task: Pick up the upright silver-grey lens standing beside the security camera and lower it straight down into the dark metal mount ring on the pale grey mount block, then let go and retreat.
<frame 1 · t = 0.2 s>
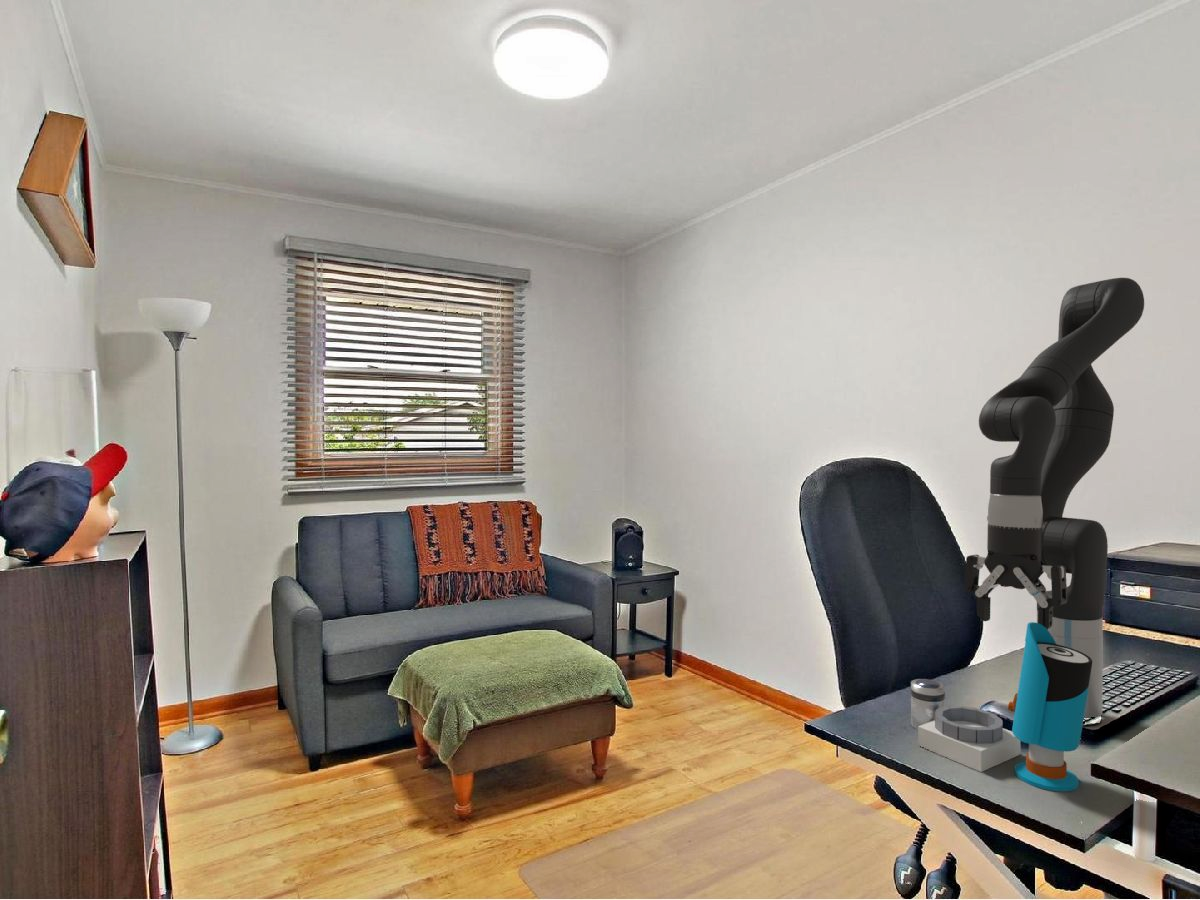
hand: (1012, 625, 113), 17 cm above the table, tool pointing down, fingers open, 8 cm apart
mount: (968, 749, 108), on the table
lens: (927, 726, 117), on the table
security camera: (1048, 779, 99), on the table
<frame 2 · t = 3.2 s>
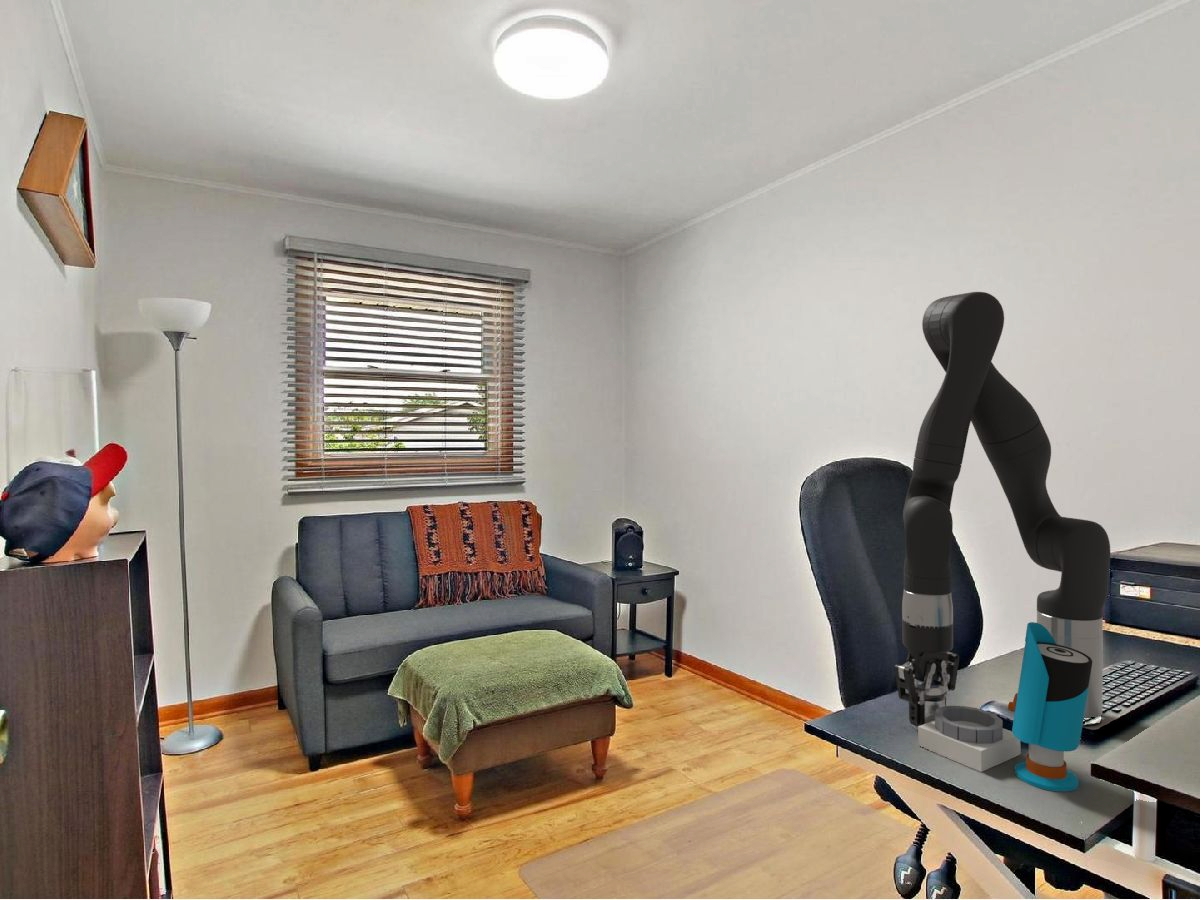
hand: (927, 721, 117), 1 cm above the table, tool pointing down, fingers closed on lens, 5 cm apart
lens: (927, 726, 117), on the table, touching gripper
everything else where it was.
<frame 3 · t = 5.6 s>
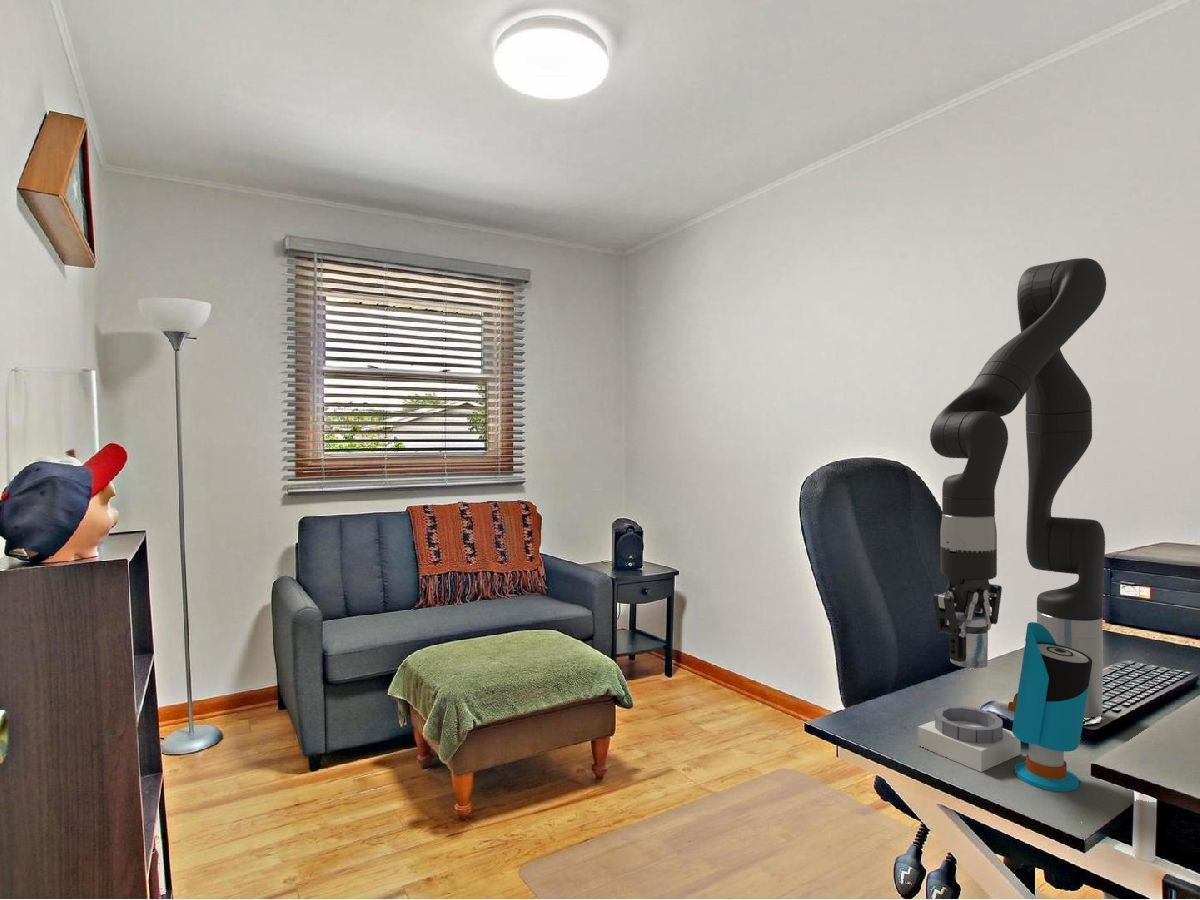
hand: (968, 656, 108), 14 cm above the table, tool pointing down, fingers closed on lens, 5 cm apart
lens: (968, 662, 108), point 13 cm above the table, touching gripper
everything else where it was.
when the fingers open (5 cm above the table, at t = 7.9 s): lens drops 1 cm, resting on mount.
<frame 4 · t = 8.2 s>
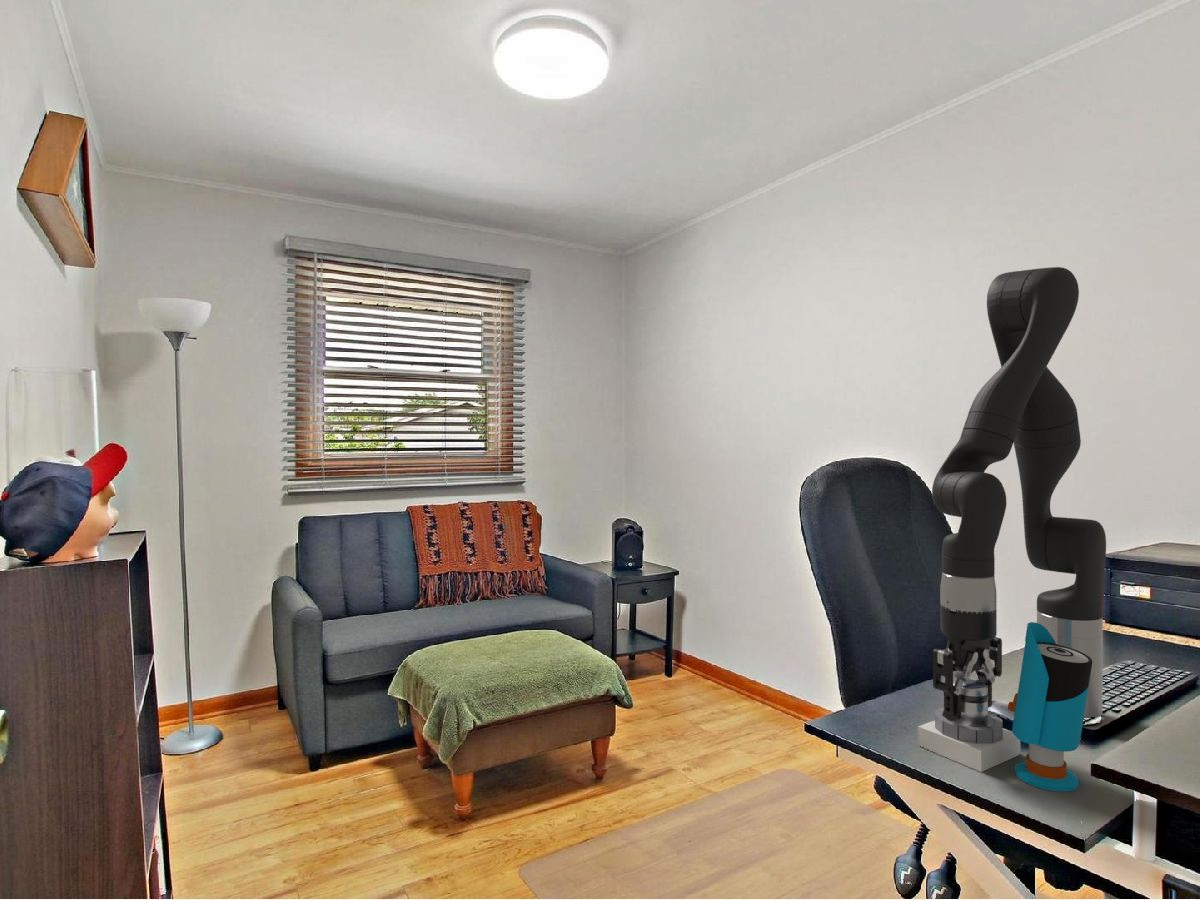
hand: (968, 711, 108), 6 cm above the table, tool pointing down, fingers open, 7 cm apart
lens: (969, 730, 108), point 3 cm above the table, touching mount
everything else where it was.
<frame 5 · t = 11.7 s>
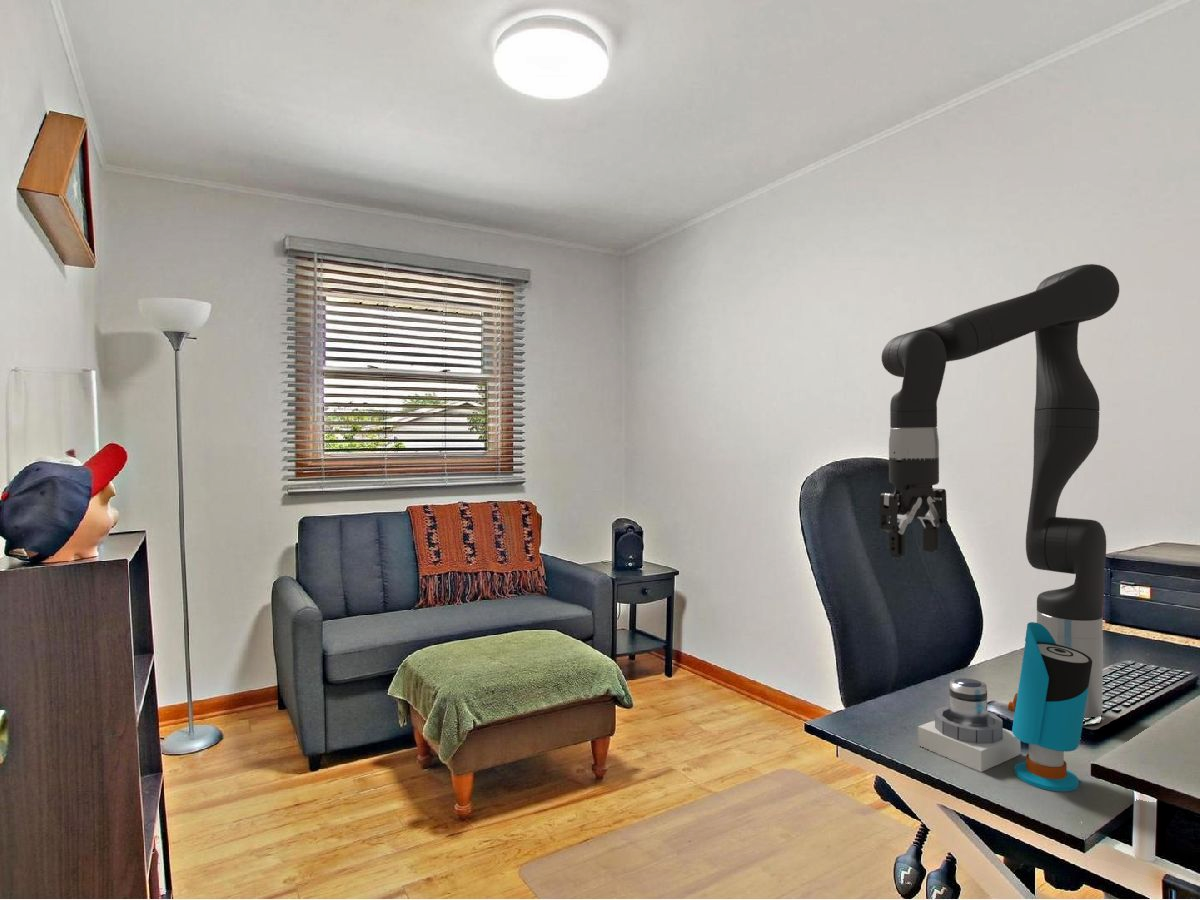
hand: (914, 554, 117), 28 cm above the table, tool pointing down, fingers open, 8 cm apart
nothing on the table moved.
at the end: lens 0.1 cm off-centre on the mount, point 3.1 cm above the mount's base; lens tilted 2°; the gripper is holding nothing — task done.
